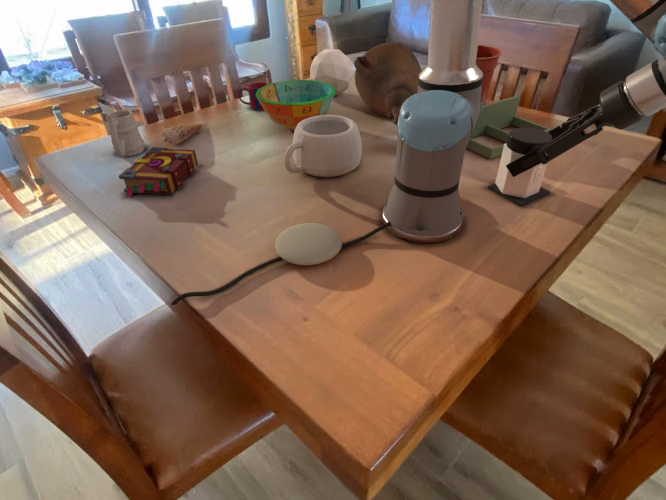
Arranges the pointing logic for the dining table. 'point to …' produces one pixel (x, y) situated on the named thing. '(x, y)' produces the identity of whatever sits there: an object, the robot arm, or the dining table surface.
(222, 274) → the dining table surface
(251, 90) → the cup
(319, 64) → the geometric sphere
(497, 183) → the jar
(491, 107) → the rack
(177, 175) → the decorative book
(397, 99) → the jug
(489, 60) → the flower pot
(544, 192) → the mat
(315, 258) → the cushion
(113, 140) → the mug
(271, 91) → the bowl
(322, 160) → the mug
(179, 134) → the seashell
